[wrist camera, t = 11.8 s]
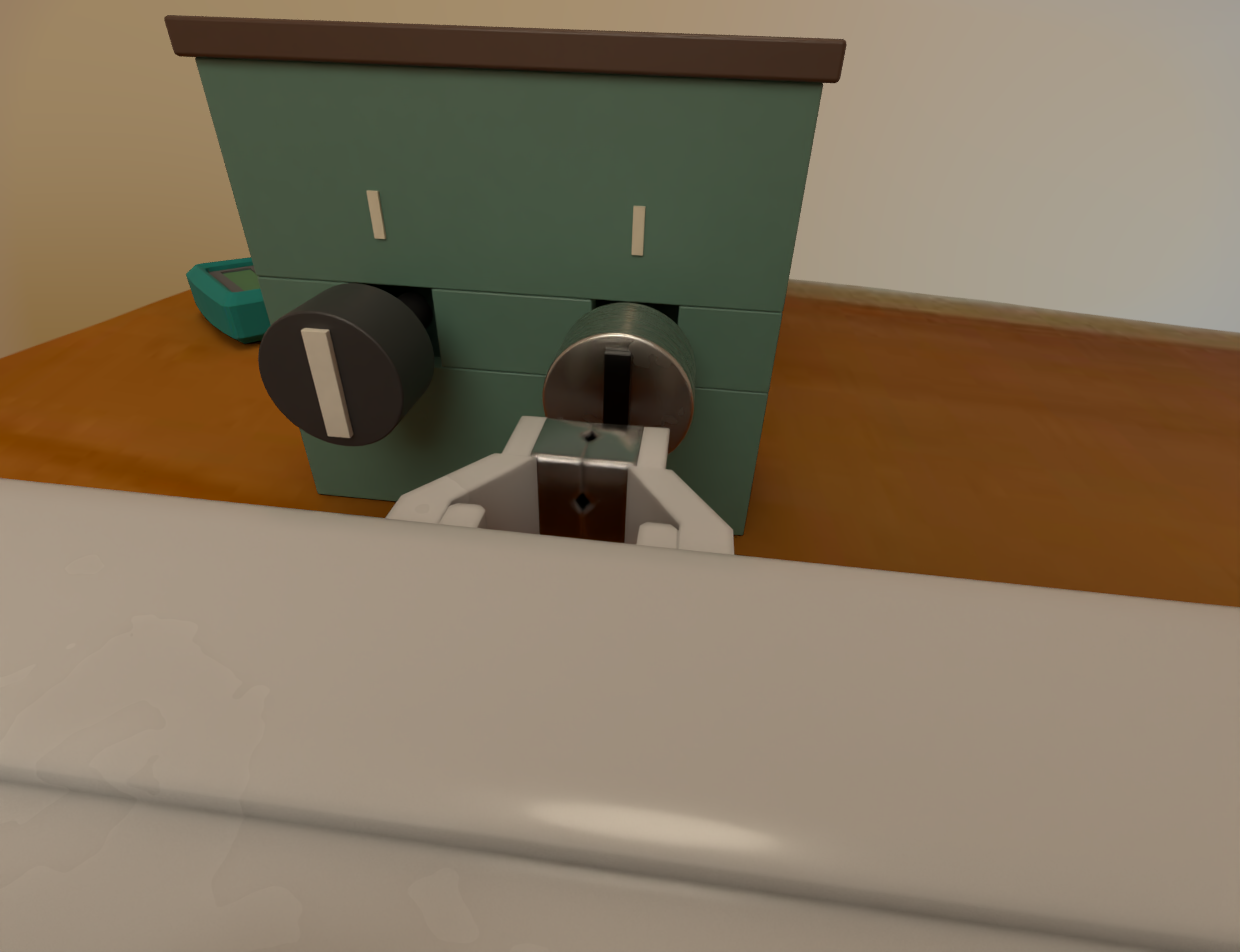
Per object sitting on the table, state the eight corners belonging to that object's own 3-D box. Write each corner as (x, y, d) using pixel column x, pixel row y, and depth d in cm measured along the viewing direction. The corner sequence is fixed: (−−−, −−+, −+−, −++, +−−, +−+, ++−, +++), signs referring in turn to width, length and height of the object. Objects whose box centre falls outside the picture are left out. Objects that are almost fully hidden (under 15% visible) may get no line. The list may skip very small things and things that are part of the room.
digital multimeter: (482, 296, 41) (478, 248, 40) (233, 352, 33) (215, 294, 31) (426, 270, 46) (420, 226, 44) (193, 313, 37) (175, 261, 35)
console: (752, 542, 21) (848, 38, 14) (304, 498, 22) (161, 14, 15) (745, 454, 26) (813, 43, 18) (374, 422, 27) (291, 24, 19)
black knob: (410, 457, 16) (385, 320, 14) (275, 444, 16) (232, 308, 14) (476, 368, 21) (464, 255, 19) (369, 360, 21) (347, 247, 19)
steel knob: (686, 482, 16) (701, 343, 14) (542, 469, 16) (536, 330, 14) (691, 385, 20) (703, 270, 18) (579, 376, 20) (578, 262, 18)
